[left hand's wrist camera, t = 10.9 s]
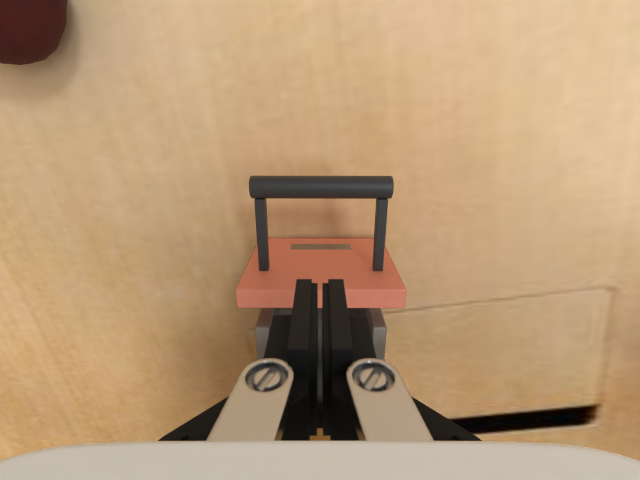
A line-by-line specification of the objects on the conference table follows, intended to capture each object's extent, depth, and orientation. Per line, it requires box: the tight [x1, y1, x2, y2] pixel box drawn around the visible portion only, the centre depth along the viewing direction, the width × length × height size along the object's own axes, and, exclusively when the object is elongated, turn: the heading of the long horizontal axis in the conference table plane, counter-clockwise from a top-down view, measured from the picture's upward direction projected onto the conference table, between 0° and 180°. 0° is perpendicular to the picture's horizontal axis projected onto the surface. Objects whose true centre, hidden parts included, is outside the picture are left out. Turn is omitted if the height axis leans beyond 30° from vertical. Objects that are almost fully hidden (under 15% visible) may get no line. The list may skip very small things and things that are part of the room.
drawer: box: [236, 176, 406, 428], centre depth 26 cm, size 24×10×8 cm, turn 0°
